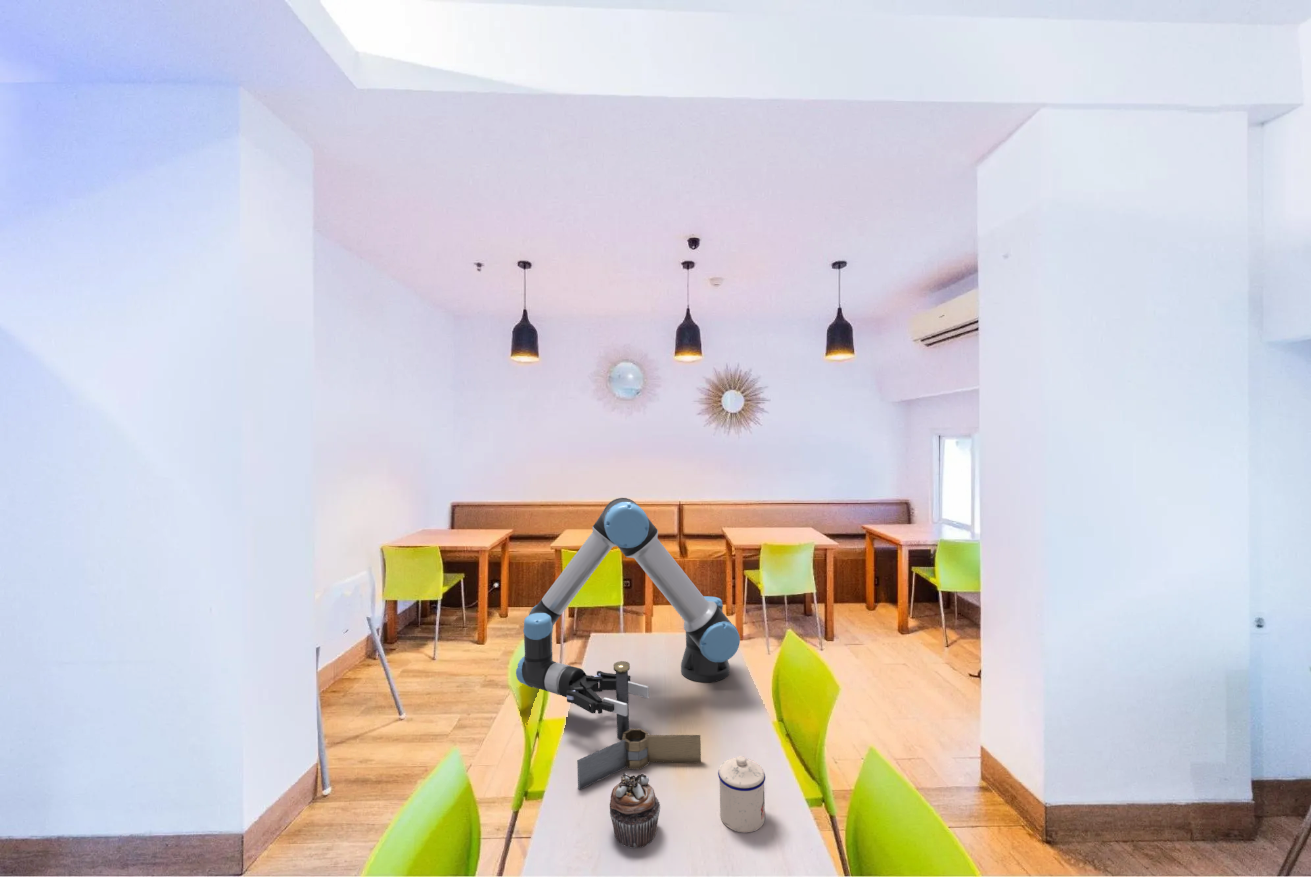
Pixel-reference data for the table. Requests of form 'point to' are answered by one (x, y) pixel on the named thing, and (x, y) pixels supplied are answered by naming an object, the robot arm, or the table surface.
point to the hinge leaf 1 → (606, 762)
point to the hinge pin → (622, 695)
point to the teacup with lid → (742, 794)
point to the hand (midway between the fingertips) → (637, 701)
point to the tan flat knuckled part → (663, 748)
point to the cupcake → (634, 811)
